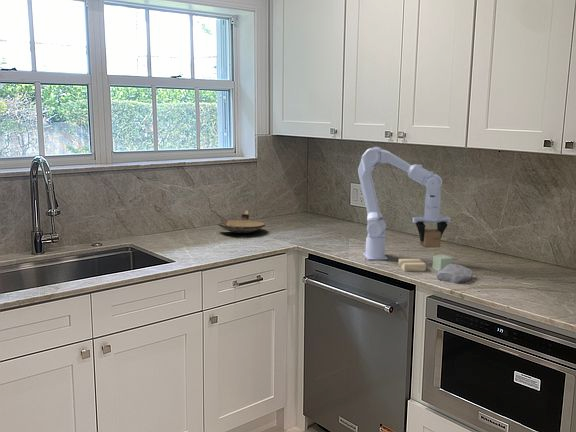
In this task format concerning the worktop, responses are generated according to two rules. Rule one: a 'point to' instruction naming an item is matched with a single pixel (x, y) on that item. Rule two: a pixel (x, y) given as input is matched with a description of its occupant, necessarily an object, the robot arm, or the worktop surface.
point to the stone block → (454, 273)
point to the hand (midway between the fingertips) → (430, 240)
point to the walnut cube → (431, 238)
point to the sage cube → (441, 261)
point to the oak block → (412, 265)
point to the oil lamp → (242, 225)
